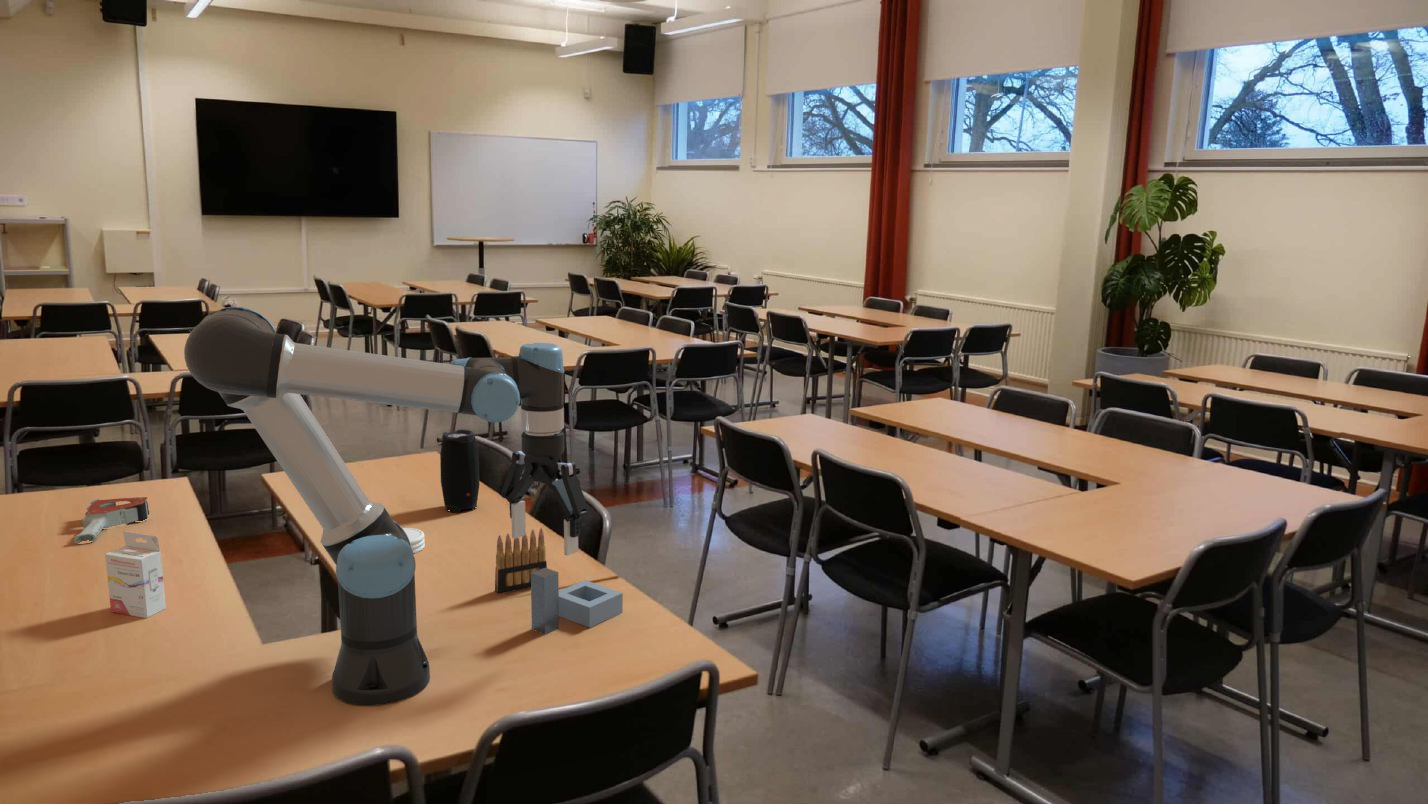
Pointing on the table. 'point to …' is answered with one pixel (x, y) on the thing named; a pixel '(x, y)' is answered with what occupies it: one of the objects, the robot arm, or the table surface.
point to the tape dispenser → (111, 515)
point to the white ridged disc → (415, 539)
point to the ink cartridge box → (136, 577)
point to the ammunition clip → (518, 562)
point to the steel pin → (545, 600)
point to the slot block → (589, 603)
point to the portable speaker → (459, 470)
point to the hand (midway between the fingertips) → (544, 544)
